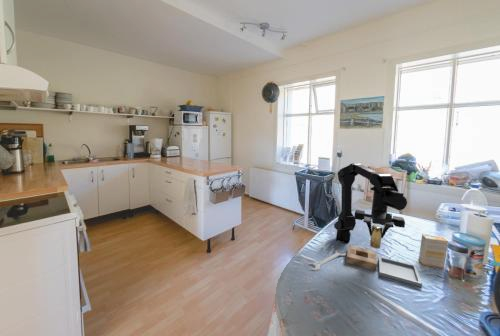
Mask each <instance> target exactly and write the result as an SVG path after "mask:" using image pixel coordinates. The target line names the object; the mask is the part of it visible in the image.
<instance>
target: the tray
mask: <svg viewBox="0 0 500 336" xmlns="http://www.w3.org/2000/svg"><path fill="white" fill-rule="evenodd" d="M377 264H378V277H379V278H383V279H387V280H389V281H393V282H397V283H401V284H403V285H408V286H410V287H416V288H418V289H422V287H423V282H422V280H421V276H420V273H419V271H418V268H417V265H416V264H413V263H408V262H403V261H400V260H395V259H391V258H388V257H385V256H380V255H379V256H378V258H377Z"/></svg>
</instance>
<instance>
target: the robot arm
mask: <svg viewBox="0 0 500 336" xmlns="http://www.w3.org/2000/svg"><path fill="white" fill-rule="evenodd" d="M358 175H360V176H362V177H363V178H365V179H367V180H368V182H369V183H370V185H372V187H371V188H370V191H373V194H372V203H371V204H372V205H371V212H370V213H371V214H370V213H366V211H365V210H359V209H356V210H355V211H354V214H353V213H352V201H353V200H352V197H353V196H352V195H353V194H352V193H353V192H352V186H353V184H354V182H355V181H356V180H355V179H356V177H357V176H358ZM337 178H338V182H339V183H340V186H341V210H340V211H341V212H340V213H339V215H338V217H337V221H335V223H333V227H334V229H335V230H336V237H335V241H337V242H341V243H346V244H349V242H350V241H351V236H352V233H351V231H354V228H355V227H356V224H357V222H356V220H359V221H363V223H365V224H366V226H367V228H368V232H369V235H370V237H371V234H372V224H374V225H376V224H377V225H380V226H383V227H382V228H383V229H382V237H381V239H383V238H384V237H385V234H386V233H387V231H388V230H389V229H390V228H394V226H395V227H396V228H406V227H405V226H406V221H405V219H404V217H402V216H396V215H393V214H392V213H388V207H390V208H392V209H395V210H397V211H402V210H405V208H406V207H407V205H408V201H407V198H406V197H405V196H404V193H403V192H400V191H399V189H398V186H397V184H396V183H395V179H394V178H393V175H392V174H389V173H387V172H378V171H376V170H374V169H371V168H369V167H367V166H365V165H363V164H362V163H358V162H356V163H355V162H353V163H350V164H348V165H346V166H345V167H343V168H340V169H339V170H338V172H337Z"/></svg>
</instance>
